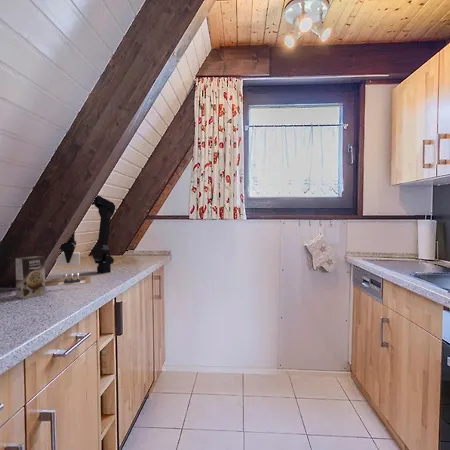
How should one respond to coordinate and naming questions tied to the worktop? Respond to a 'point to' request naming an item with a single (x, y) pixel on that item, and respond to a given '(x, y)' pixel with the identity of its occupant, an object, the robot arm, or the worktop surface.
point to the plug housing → (74, 260)
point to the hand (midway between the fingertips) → (68, 262)
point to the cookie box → (30, 276)
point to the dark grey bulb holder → (72, 279)
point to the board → (61, 280)
